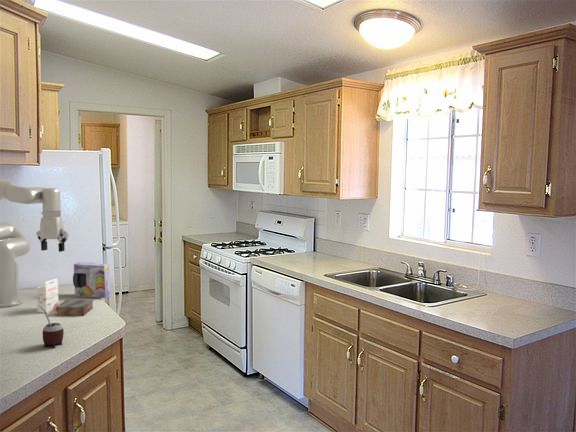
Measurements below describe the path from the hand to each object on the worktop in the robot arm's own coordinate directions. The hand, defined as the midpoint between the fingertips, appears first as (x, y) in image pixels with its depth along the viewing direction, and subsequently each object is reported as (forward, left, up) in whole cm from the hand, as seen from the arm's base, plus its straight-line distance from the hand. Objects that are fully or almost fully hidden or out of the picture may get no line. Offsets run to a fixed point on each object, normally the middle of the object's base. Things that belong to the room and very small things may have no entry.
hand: (52, 250), depth 221 cm
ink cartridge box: (-1, -4, -28) cm, 28 cm away
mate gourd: (+19, -49, -28) cm, 59 cm away
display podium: (+12, -6, -28) cm, 31 cm away
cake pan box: (+10, +22, -28) cm, 37 cm away
